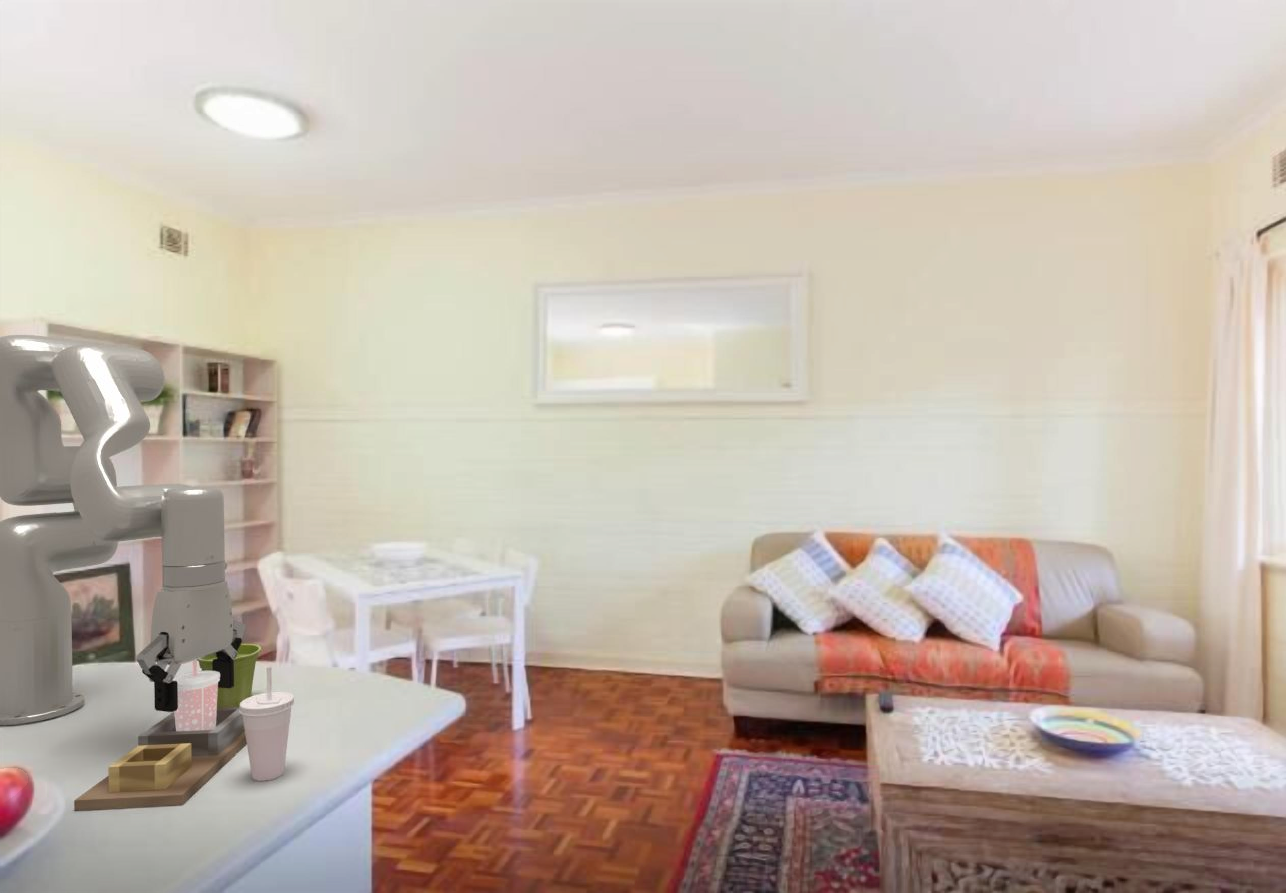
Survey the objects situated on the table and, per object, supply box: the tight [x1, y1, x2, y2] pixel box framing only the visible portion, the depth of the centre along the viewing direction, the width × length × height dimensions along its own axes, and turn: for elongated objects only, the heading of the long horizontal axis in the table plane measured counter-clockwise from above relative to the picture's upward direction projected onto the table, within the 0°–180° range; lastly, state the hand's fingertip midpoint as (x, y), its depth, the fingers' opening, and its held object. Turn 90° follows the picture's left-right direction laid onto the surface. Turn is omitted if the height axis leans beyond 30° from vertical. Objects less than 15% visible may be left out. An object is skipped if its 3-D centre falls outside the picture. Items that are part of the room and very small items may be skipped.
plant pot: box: [197, 643, 262, 708], centre depth 125 cm, size 9×9×9 cm
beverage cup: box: [172, 660, 220, 731], centre depth 106 cm, size 6×6×14 cm
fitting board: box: [73, 707, 247, 811], centre depth 100 cm, size 22×12×4 cm, turn 6°
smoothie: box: [239, 665, 295, 782], centre depth 98 cm, size 6×6×14 cm
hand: (196, 698), depth 106 cm, fingers open, 9 cm apart
